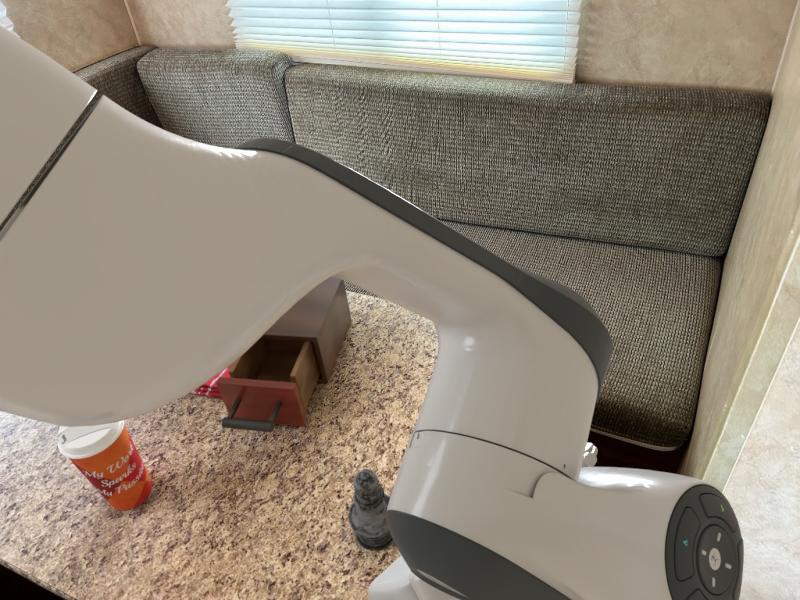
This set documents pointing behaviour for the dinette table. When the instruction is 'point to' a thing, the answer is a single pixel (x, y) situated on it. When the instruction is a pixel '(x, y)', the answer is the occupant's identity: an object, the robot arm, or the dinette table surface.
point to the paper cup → (108, 462)
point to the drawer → (270, 385)
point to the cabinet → (318, 323)
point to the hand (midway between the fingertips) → (437, 519)
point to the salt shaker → (370, 512)
